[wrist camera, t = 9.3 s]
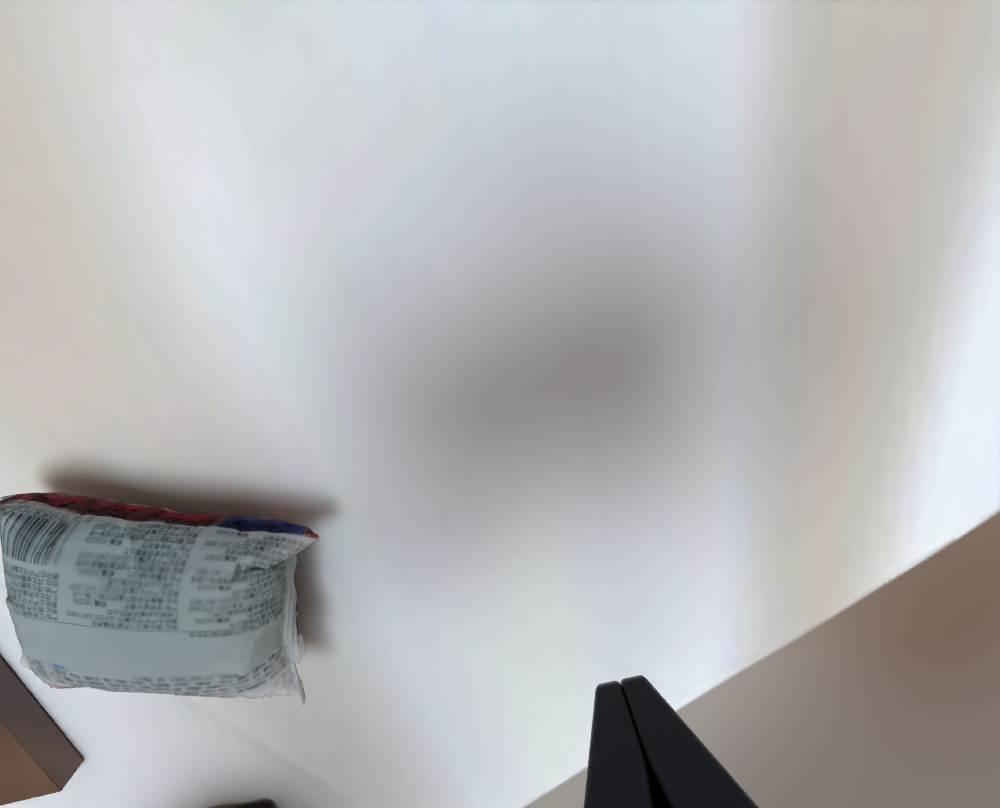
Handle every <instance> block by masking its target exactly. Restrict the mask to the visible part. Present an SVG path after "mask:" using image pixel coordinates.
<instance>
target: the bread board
mask: <svg viewBox="0 0 1000 808" xmlns="http://www.w3.org/2000/svg"><path fill="white" fill-rule="evenodd" d="M82 762H83V759H82V758H81V756H80V755H79V754H78V753H77V751H76V750H75V749H74V748H73V746H72V745H71V744H70V743H69V741H68V740H67V739H66V738H65V736H64V735H63V734H62V733H61V731H60V730H59V729H58V728H57V726H56V725H55V724H54V723H53V721H52V720H51V719H50V718H49V716H48V715H47V714H46V713H45V711H44V710H43V709H42V708H41V706H40V705H39V704H38V703H37V701H36V700H35V699H34V698H33V696H32V695H31V694H30V693H29V692H28V690H27V689H26V688H25V687H24V685H23V684H22V683H21V682H20V680H19V679H18V678H17V677H16V675H15V674H14V673H13V672H12V670H11V669H10V668H9V667H8V665H7V664H6V663H5V662H4V660H3V659H2V658H1V657H0V806H1V805H5V804H9V803H13V802H18V801H22V800H26V799H30V798H34V797H39V796H43V795H47V794H51V793H55V792H60V791H61V790H62V789H63V788H64V787H65V785H66V784H67V782H68V781H69V780H70V778H71V777H72V776H73V774H74V773H75V772H76V770H77V769H78V768H79V766H80V765H81V764H82Z"/></svg>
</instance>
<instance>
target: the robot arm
mask: <svg viewBox="0 0 1000 808" xmlns="http://www.w3.org/2000/svg"><path fill="white" fill-rule="evenodd" d="M242 808H274V807H273V806H272V805H271V804H269V803H259V804H255V805H251V806H246V807H242ZM584 808H759V807H758V806H757V805H756V804H755V803H754V802H753V801H752V799H751V798H750V797H749V796H748V795H747V793H746V792H744V790H743V789H742V788H741V787H740V786H739V784H738V783H737V782H736V781H735V780H734V779H733V777H732V776H731V775H730V774H729V773H728V772H727V771H726V769H725V768H724V767H723V766H722V765H721V764H720V763H719V761H718V760H717V759H716V758H715V757H714V756H713V754H712V753H711V752H710V751H709V750H708V749H707V748H706V747H705V745H704V744H703V743H702V742H701V741H700V740H699V738H697V736H696V735H695V734H694V733H693V732H692V730H691V729H690V728H689V727H688V726H687V725H686V724H685V722H684V721H683V720H682V719H681V718H680V717H679V715H678V714H677V713H676V712H675V711H674V710H673V708H672V707H671V706H670V705H669V704H668V703H667V702H666V700H665V699H664V698H663V697H662V696H661V695H660V694H659V692H658V691H657V690H656V689H655V688H654V687H653V686H652V684H651V683H650V682H649V681H648V680H647V679H646V678H645V677H644V676H641V675H638V676H634V677H630V678H625V679H623V680H622V681H621V684H620V683H619V682H618V681H612V682H607V683H603V684H599V685H598V686H597V688H596V692H595V702H594V712H593V721H592V731H591V741H590V751H589V761H588V771H587V781H586V790H585V800H584Z"/></svg>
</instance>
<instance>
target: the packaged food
mask: <svg viewBox="0 0 1000 808" xmlns="http://www.w3.org/2000/svg"><path fill="white" fill-rule="evenodd" d="M0 499H3V500H1V501H0V539H1V546H2V557H3V565H4V573H5V582H6V587H7V595H8V596H7V599H6V603H7V607H8V609H9V612H10V616H11V618H12V621H13V624H14V626H15V632H16V634H17V637H18V640H19V643H20V645H21V648H22V658H21V661H20V663H21V664H22V665H23V666H24V667H26V668H28V669H30V670H32V671H33V672H34V673H35V675H36V676H38V677H39V678H41V679H42V681H43V682H44V683H46V684H48V685H49V686H50V688H75V687H77V688H80V687H91V688H96V689H100V690H105V691H112V692H141V693H161V694H175V695H187V696H204V697H225V698H233V697H239V696H240V697H245V698H251V699H254V698H263V697H264V696H268V697H271V696H273V695H296V694H301V698H302V701H303V705H304V703H305V693H304V688H303V684H302V680H301V679H300V678H299V675H298V672H297V668H296V662H297V663H298V664H299V663H300V661H301V660H302V658H303V657H304V655H305V645H304V641H303V637H302V634H299V635H298V620H297V617H298V601H297V598H296V591H295V585H294V572H295V567H296V564H297V556H296V554H298V553H299V552H301V551H303V550H304V549H305V548H306V547H308V546H310V545H311V544H312V543H313V542H315V541H317V540H319V536H318V535H317V534H315V533H313V532H312V531H311V529H309V528H308V527H306V526H299V525H296V524H292V523H290V522H286V521H283V520H277V519H268V518H256V517H247V516H232V515H217V514H209V513H195V512H191V513H181V512H177V511H173V510H170V509H167V508H161V507H151V506H146V505H140V504H129V503H120V502H115V501H112V500H108V499H95V498H90V497H83V496H76V495H69V494H65V493H54V492H51V493H28V494H16V495H9V496H4V497H1V498H0Z"/></svg>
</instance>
